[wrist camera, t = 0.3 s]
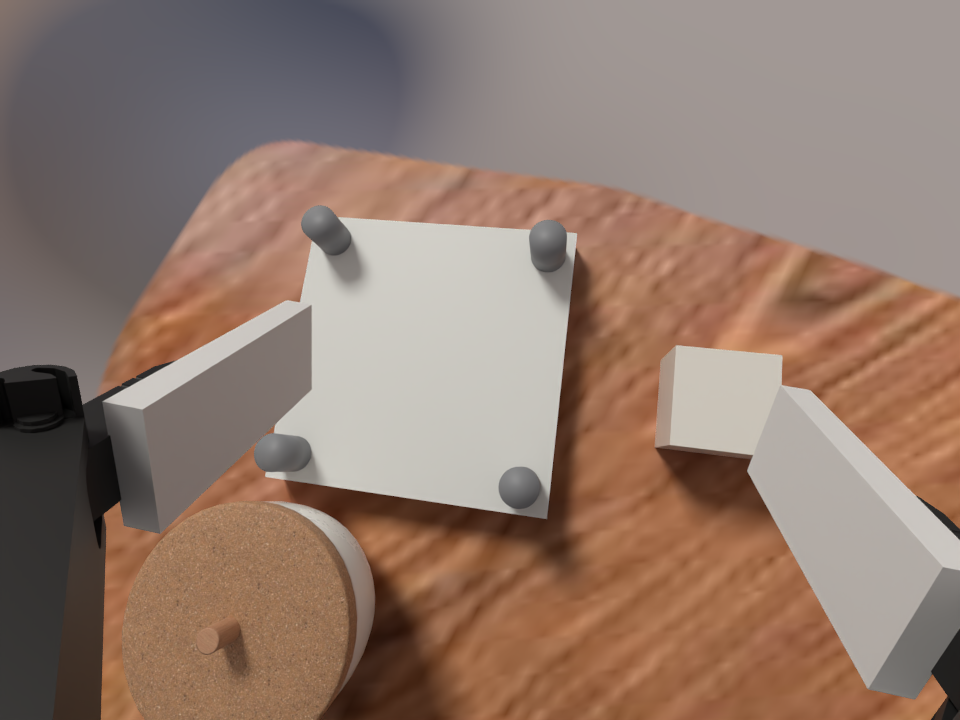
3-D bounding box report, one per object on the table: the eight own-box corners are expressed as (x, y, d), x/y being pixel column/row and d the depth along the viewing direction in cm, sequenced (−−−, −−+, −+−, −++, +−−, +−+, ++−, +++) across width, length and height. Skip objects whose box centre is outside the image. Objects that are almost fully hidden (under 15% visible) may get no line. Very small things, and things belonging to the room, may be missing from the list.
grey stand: (547, 515, 30) (546, 524, 25) (282, 475, 32) (239, 477, 28) (575, 247, 32) (579, 213, 28) (330, 229, 35) (298, 196, 30)
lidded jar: (291, 458, 32) (187, 456, 23) (436, 559, 30) (385, 601, 21) (189, 615, 31) (39, 678, 22) (332, 733, 29) (230, 857, 20)
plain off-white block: (748, 459, 29) (779, 458, 25) (654, 447, 30) (669, 444, 26) (752, 369, 30) (782, 355, 26) (660, 360, 31) (676, 345, 27)
